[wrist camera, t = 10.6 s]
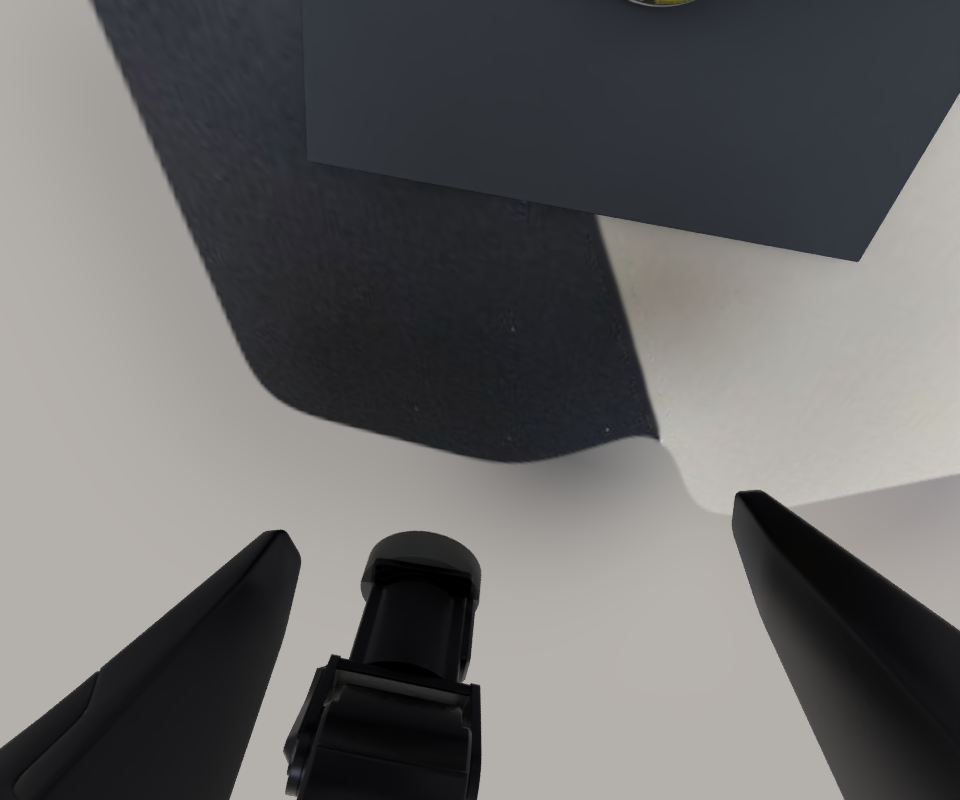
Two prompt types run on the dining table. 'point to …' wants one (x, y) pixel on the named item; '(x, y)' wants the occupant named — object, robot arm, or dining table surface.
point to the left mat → (643, 106)
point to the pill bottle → (661, 2)
